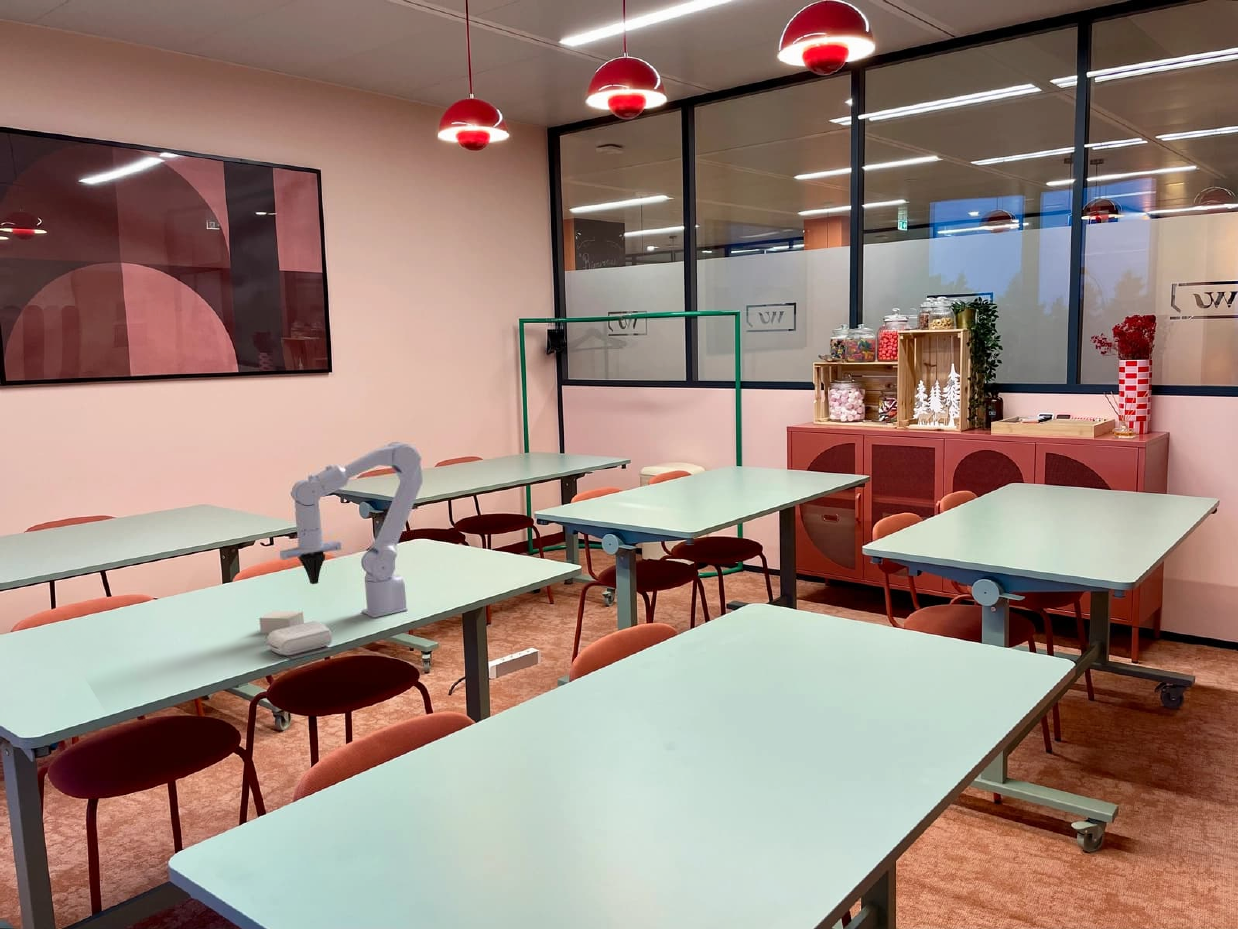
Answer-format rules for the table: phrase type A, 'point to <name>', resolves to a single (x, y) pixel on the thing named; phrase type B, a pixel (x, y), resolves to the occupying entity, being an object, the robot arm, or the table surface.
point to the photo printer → (299, 638)
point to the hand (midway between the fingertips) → (314, 583)
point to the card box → (280, 620)
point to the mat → (309, 652)
